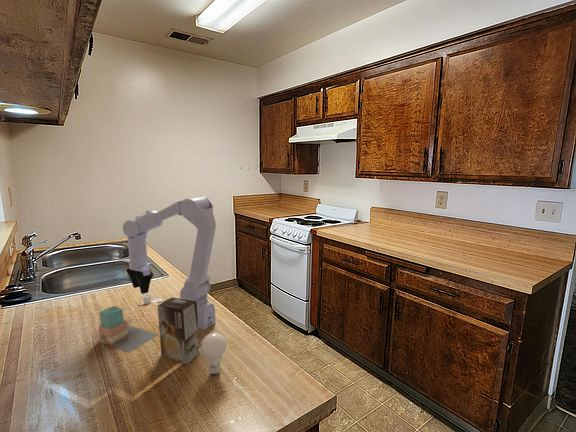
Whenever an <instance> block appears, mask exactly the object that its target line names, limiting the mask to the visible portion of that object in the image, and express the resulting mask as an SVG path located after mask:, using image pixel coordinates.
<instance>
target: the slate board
mask: <svg viewBox="0 0 576 432" xmlns="http://www.w3.org/2000/svg"><path fill="white" fill-rule="evenodd" d="M127 331H128V337H127V338H125V339H123V340H121V341H119V342H118V343H116V344H114V345H109V344H106V343H103V342H101V341H100V339H98V341H97V342H99V343H101V344H104V345H106V346H110V347H112V348H116V349H117V350H121V351H124V352H126V353H130V352H132V351H134V350H135V349H136V350H137V348H139V347H140V346H142V345H144V344H146V343H148V342H149V341H151V340H153V339H155V338H156V337H158V336H160V333H159V334H158V333H154V332H152V331H148V330H145V329H142V328H139V327H135V326H132V325H130V324H129V325H127Z"/></svg>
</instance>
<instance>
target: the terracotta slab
mask: <svg viewBox="0 0 576 432" xmlns="http://www.w3.org/2000/svg"><path fill="white" fill-rule="evenodd" d="M127 322H128V321H124V323H122V324H120V325H117V326H115V327H113V328H111V329H108V328H106V327H104V326H101V324H100V325H98V334H102V335H105V336H107V337H110V338H112V337H114V336H116V335H118V334H119V333H121V332H123V331H125V330H127V326H128V323H127Z"/></svg>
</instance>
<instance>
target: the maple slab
mask: <svg viewBox="0 0 576 432" xmlns="http://www.w3.org/2000/svg"><path fill="white" fill-rule="evenodd" d="M98 334H99V333H98ZM127 337H128V331H127V330H125V331H123V332H121V333H119V334H118V335H116V336H114V337H112V338H110V337H107V336H105V335H102V334H99V340H100V341H101V342H103V343H102V344H104V343H106V344H105V345H107V344H109V345H114V344H116V343H118V342H119V341H121V340H123V339H125V338H127ZM101 342H100V343H101ZM109 345H108V346H109Z"/></svg>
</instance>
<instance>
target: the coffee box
mask: <svg viewBox="0 0 576 432" xmlns="http://www.w3.org/2000/svg"><path fill="white" fill-rule="evenodd" d="M157 316H158V318H157V319H158V329H159V339H160V340H159V341H160V352H161V354H160V356H163V357H166V358H170V359H173V360H178V361H179V362H178V363H179V364H184V365H188V364H189V363H190V362H192V361H193V360H194V359H195V358H196V357H197V356H199V354H200V353H201V352H200V341H199V340H200V338H199V329H198V319H197V301H191V300H185V299H181V298H180V297H179V298H177V297H173V296H172V297H170V298H168V299H165V300H164V301H162V302H161V303H158V304H157Z"/></svg>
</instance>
